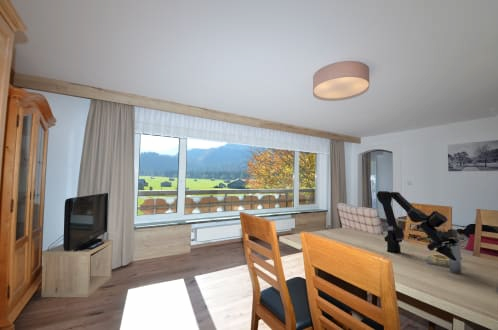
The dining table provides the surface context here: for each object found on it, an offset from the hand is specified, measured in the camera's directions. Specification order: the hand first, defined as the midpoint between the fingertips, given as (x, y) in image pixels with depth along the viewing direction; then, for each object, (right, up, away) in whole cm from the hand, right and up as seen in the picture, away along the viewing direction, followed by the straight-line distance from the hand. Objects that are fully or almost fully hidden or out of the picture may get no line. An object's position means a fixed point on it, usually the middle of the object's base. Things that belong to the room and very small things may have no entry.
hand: (458, 259), depth 107 cm
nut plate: (+3, -7, +13) cm, 15 cm away
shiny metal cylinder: (-1, -7, +1) cm, 7 cm away
